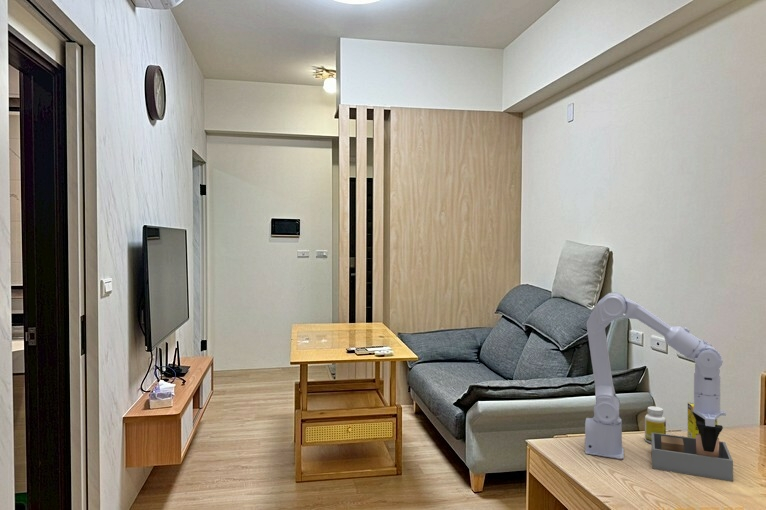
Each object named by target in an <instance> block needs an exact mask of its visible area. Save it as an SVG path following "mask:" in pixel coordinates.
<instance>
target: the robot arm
mask: <svg viewBox="0 0 766 510" xmlns="http://www.w3.org/2000/svg"><path fill="white" fill-rule="evenodd" d="M623 315H624V319H633V320H634V319H635V320H638V321H639V322H641V323H643V324H644V325H646V326H647V327H649V328H650V329H652V330H654V331H655V332H657V333H659V334H660V335H661V336H663V337H664V341H665V345H668V346H669V347H671V348H672V349H673V350H675V351H677V352H678V353H679V354H681V355H683V357H685V358H687V359H691V360H693V361H694V373H693V403H694V408H693V412H692V413H693V415H694V417H695V419H696V425H697V427H698V431H699V434H700V435H701V440H702V446H703V449H704V451H708V452H714V449H715V446H716V441H717V438H719V436H720V434H721V433H722V431H723V428H724V427H723V425H721V424H720V425H719V424H717V425H715V421H716V419H717V420H718V419H719V418H720V417H721V416H724V417H725V416H726V415H727V413H726V411H725V410H722V409H721V375H720V373H721V369H720V368H721V367H722V365H723V363H724V362H723V360H722V356H721V354H720V353H719V351H718V350H717V349H716V348H715V347H713V345H712V344H709V343H708V341H707V340H705V339H703V340H702V339H700V338H699V337H697V336H695V335H694V334H693V333H691V330H690V328H688V327H686V326H685V327H684V328H683V327H682V326H680V325H678V326H677V325H676V326H672V325H670V324H668V323H667V322H665V321H664V320H662V319H661V318H660V317H658V316H657V315H655V314H654V313H653V312H651V311H650V310H648V309H647V308H646V307H644V306H642V304H639V303H638V302H636V301H634V300H632V299H631V298H629V297H625V296H624V295H623V294H621V293H619V292H615V291H614V292H612V291H611V292H609V293H606V295H604V296H603V297H602V298H601V299H600V300H598V302H597V303H596V305H595V307H594V308H593V310H592V312H591V313H590V315H589V317H588V319H587V321H586V330H587V332H586V333H587V338H588V339H587V340H588V346H589V351H590V352H589V353H590V359H591V366H592V367H591V368H592V372H593V379H594V380H593V381H594V385H595V386H594V387H595V389H594V393H595V396H594V397H595V404H594V407H593V414H594V415H593V417H585V422H584V430H585V431H584V445H585V447H584V449H585V451H584V454H586V455H593V456H598V457H605V458H611V459H618V460H623V459H624V454H625V453H624V452H625V448H624V447H623V429H622V428H623V422H622V418H621V417H620V408H621V401H620V399H619V397H618V396H617V394H616V391H615V386H614V383H613V375H612V367H611V362H610V361H611V360H610V354H609V347H608V341H607V335H606V328H607V327H608V326H610V324H611V323H612V322H613V321H615V320H616V319H619V318H620V317H622V316H623Z"/></svg>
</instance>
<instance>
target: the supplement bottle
mask: <svg viewBox="0 0 766 510" xmlns="http://www.w3.org/2000/svg"><path fill="white" fill-rule="evenodd" d="M651 432H652V433H660V434H667V419H666V417H665V416H664V409H663V408H662V407H660V406H653V405H652V406H651V405H650V406H648V407H647V413H646V415H645V417H644V440H645V441H646V443H649V444H651V445H652V439H651Z"/></svg>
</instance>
